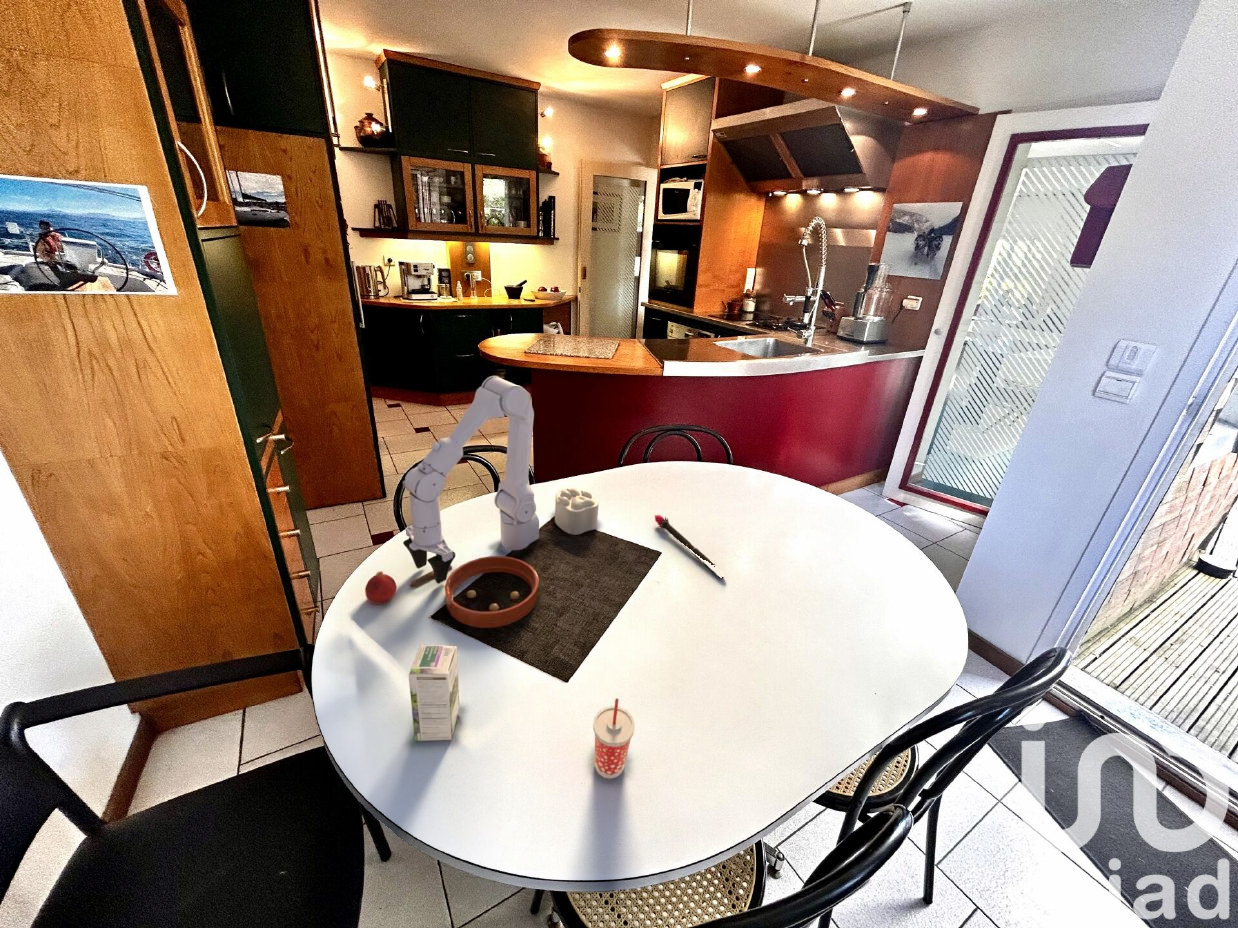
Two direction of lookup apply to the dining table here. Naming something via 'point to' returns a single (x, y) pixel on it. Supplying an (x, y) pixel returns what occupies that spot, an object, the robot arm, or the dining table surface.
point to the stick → (424, 579)
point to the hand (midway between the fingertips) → (431, 573)
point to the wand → (679, 537)
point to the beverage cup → (612, 739)
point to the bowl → (488, 566)
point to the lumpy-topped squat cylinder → (576, 511)
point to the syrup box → (434, 692)
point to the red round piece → (380, 588)
